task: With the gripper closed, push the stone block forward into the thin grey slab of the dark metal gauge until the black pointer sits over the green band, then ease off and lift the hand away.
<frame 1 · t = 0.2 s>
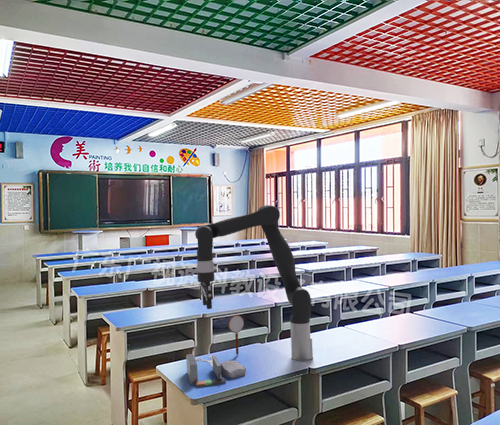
hand: (207, 306, 184), 28 cm above the table, tool pointing down, fingers open, 8 cm apart
scissors: (210, 363, 195), on the table
gauge housing: (202, 376, 178), on the table
stone block: (234, 373, 181), on the table
magnifying glass: (237, 356, 202), on the table
thin grey slab: (217, 369, 177), point 3 cm above the table, slide at 0.0 cm
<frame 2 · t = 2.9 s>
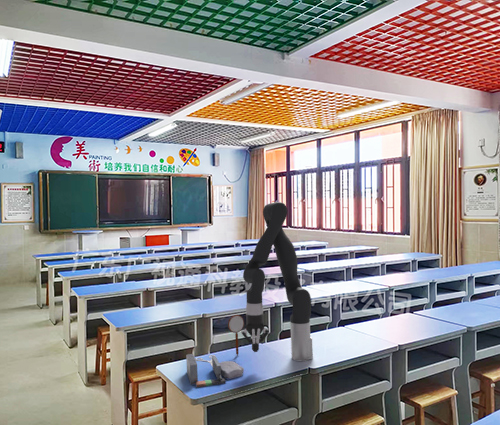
hand: (255, 351, 184), 8 cm above the table, tool pointing down, fingers closed
stone block: (231, 374, 181), on the table, touching thin grey slab
thin grey slab: (217, 369, 177), point 3 cm above the table, slide at 0.1 cm, touching stone block
everything else where it was.
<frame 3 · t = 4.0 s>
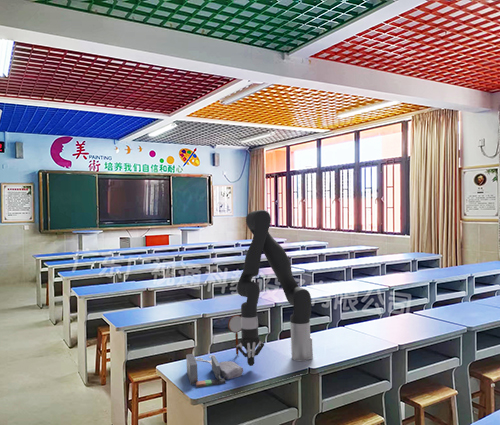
hand: (250, 365, 183), 2 cm above the table, tool pointing down, fingers closed
stone block: (230, 374, 181), on the table
thin grey slab: (216, 369, 177), point 3 cm above the table, slide at 0.4 cm
everything else where it was.
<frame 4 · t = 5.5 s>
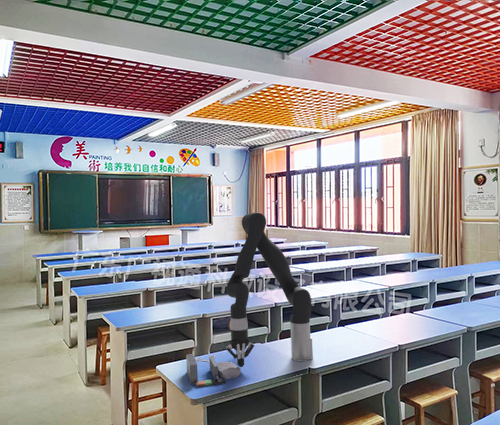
hand: (240, 366, 182), 2 cm above the table, tool pointing down, fingers closed
stone block: (228, 374, 180), on the table, touching gripper
thin grey slab: (214, 369, 177), point 3 cm above the table, slide at 1.4 cm
everything else where it was.
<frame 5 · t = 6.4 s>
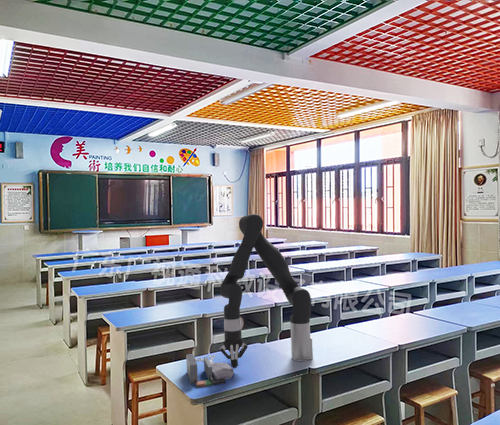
hand: (234, 367, 181), 2 cm above the table, tool pointing down, fingers closed
stone block: (222, 375, 179), on the table
thin grey slab: (208, 370, 176), point 3 cm above the table, slide at 3.8 cm
everything else where it was.
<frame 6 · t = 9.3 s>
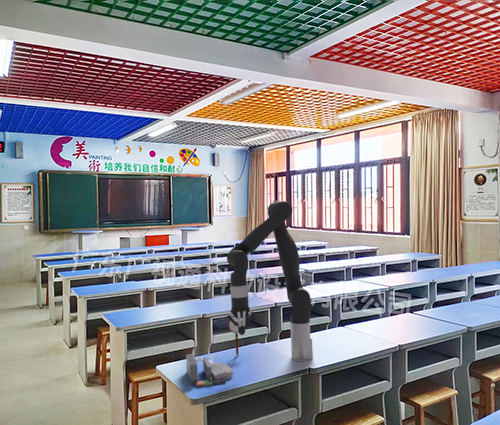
hand: (241, 334, 182), 16 cm above the table, tool pointing down, fingers closed
thin grey slab: (208, 370, 176), point 3 cm above the table, slide at 4.2 cm
everything else where it was.
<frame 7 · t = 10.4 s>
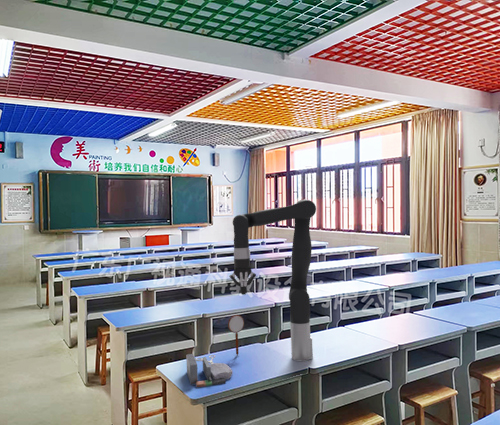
hand: (243, 294, 193), 32 cm above the table, tool pointing down, fingers closed
nothing on the table moved.
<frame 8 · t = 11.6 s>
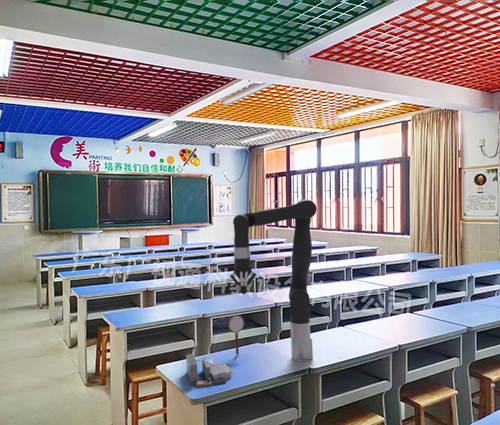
hand: (243, 293, 193), 32 cm above the table, tool pointing down, fingers closed
nothing on the table moved.
at the end: thin grey slab slide at 4.7 cm; stone block moved 6.7 cm from its start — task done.
